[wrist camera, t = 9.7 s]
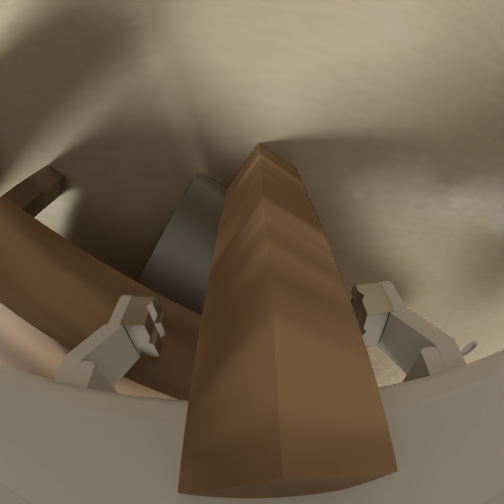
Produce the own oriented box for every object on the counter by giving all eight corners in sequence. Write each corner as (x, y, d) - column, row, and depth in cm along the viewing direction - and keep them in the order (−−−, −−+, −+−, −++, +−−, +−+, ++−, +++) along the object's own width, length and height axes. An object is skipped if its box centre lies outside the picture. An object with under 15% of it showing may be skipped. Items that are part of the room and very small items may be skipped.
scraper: (228, 124, 13) (106, 439, 2) (321, 186, 15) (438, 462, 4) (119, 321, 21) (68, 479, 10) (182, 350, 23) (158, 507, 12)
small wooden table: (224, 371, 25) (218, 466, 17) (28, 266, 18) (-30, 350, 11) (298, 311, 20) (315, 434, 13) (47, 165, 14) (-59, 248, 6)
